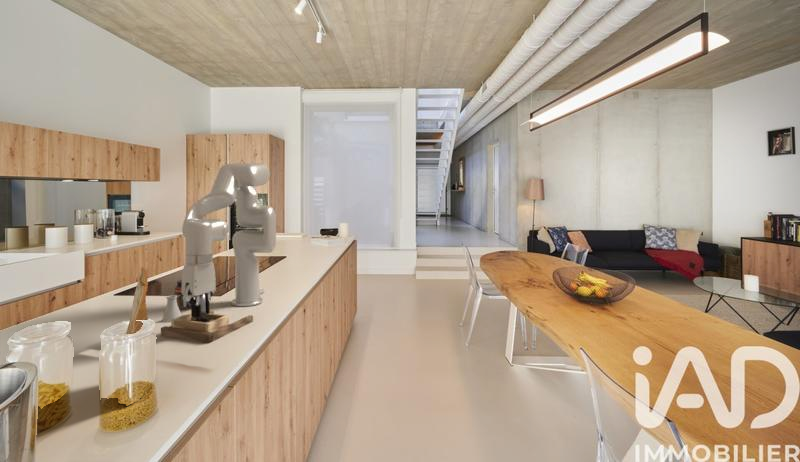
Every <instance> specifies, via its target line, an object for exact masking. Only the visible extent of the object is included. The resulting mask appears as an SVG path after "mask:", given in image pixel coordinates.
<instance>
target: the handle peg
mask: <svg viewBox="0 0 800 462" xmlns="http://www.w3.org/2000/svg"><path fill="white" fill-rule="evenodd" d="M199 305H201V317H196V321H198V322H206V293H205V294H202V295H200V299H199Z"/></svg>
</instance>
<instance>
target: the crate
mask: <svg viewBox="0 0 800 462" xmlns="http://www.w3.org/2000/svg"><path fill="white" fill-rule="evenodd" d="M229 317H230V315H226V314H219V313H214V314H211V313H209V314H206V322H198V321H196V317H192V316H191V312H188V313H186V314H183V315H182V316H180V317H177V318H174V319H171V322H170V323H171V325H170V326H172V327H175V328H182V329H190V330H197V331H205V332H214V331H216V330H219V329H221V328H223V327H225V326H227V325H229V321H230V320H229Z"/></svg>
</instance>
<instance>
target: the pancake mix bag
mask: <svg viewBox="0 0 800 462" xmlns="http://www.w3.org/2000/svg"><path fill="white" fill-rule="evenodd" d="M140 271H141V272H140V275H139V276H138V277H139V278H138V281H137V284H136V288H135V292H134V297H133V301H132V309H131V312H130V313H131V314H130V317H129V323H128V325H127V328H126V332H125V335H126V334H134V333H136V332H137V331H139V330H140V329H141V327H142V325H143V323H142V322H141V321H136V320H149V318H148V309H147V301H146V298H147V291H148V287H149V286H148V285H149V282H148V275H149V274H148V271H147V270H146V268H144V267H143V266H142V267H141V268H140Z"/></svg>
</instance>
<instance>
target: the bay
mask: <svg viewBox="0 0 800 462" xmlns="http://www.w3.org/2000/svg"><path fill="white" fill-rule="evenodd" d="M210 313H211V314H215V312H214V310H210ZM253 322H254V315H247V316H245V317H242V318H241V319H237V320H235V321H234V322H232V323H230V324H229V325H227V326H225V327H223V328H221V329H219V330H216V331H214V332H205V331H197V330H190V329H182V328H175V327H172V326H171V325H170V326H162V327H160V337H164V338H168V339H169V338H170V339H171V338H172V339H177V340H185V341H191V342H198V343H205V344H211V343H213V342H214V341H215V342H216V341H217V340H219V339H221V338H223V337H225V336H227V335H229V334H231V333H233V332H235V331H237V330H239V329H241V328H243V327H245V326H247V325H249V324H251V323H253Z"/></svg>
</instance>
